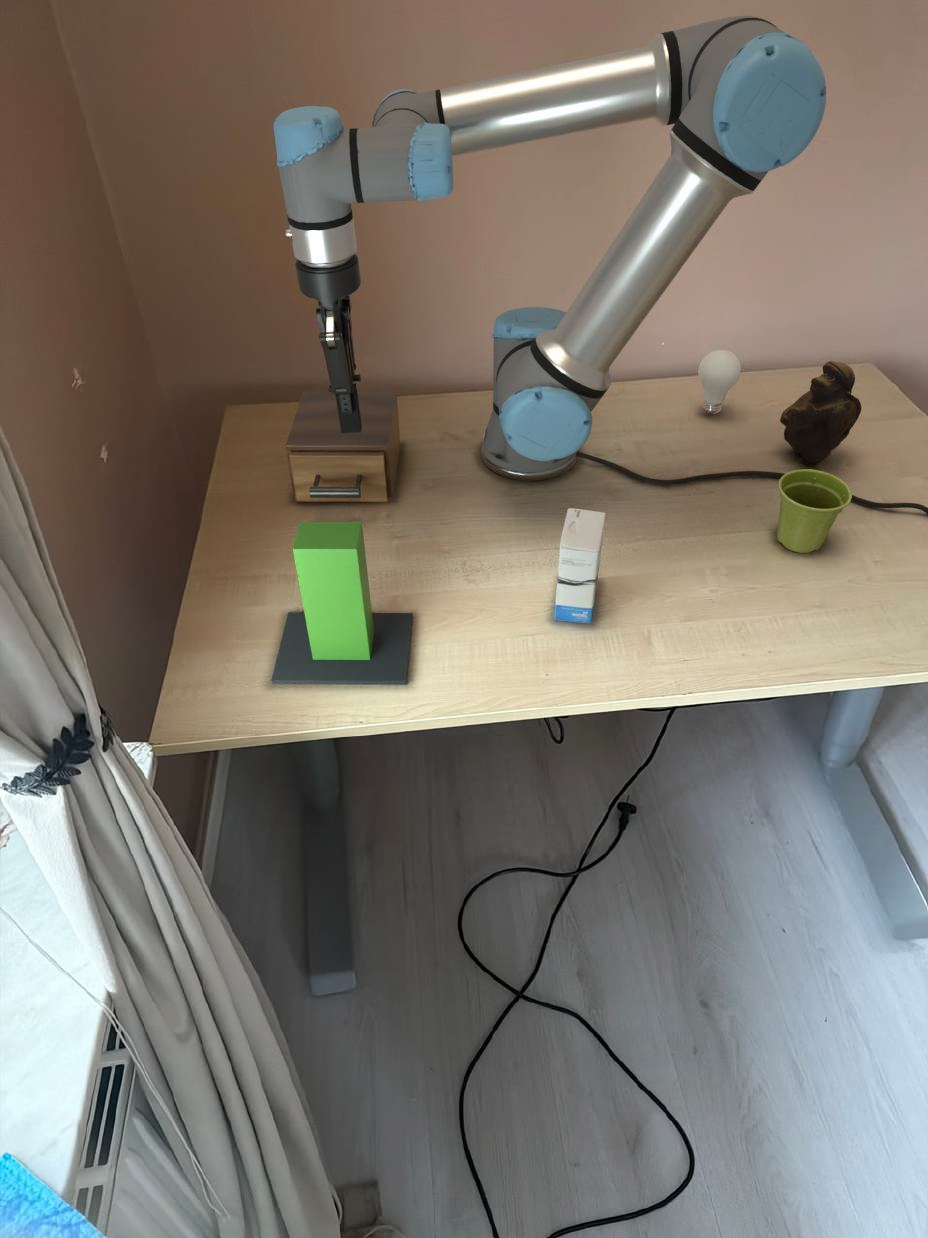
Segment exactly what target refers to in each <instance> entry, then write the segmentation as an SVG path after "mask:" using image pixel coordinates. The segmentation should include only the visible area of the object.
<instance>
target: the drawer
mask: <svg viewBox="0 0 928 1238" xmlns="http://www.w3.org/2000/svg"><path fill="white" fill-rule="evenodd" d="M289 457H290V463H291V469H292V475H293V481H294V487H295V492H296V498H297V501H296V502H312V501H387V500H388V490H387V479H386V467H385V456H384V452H383V451H298V452H290V455H289Z"/></svg>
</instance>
